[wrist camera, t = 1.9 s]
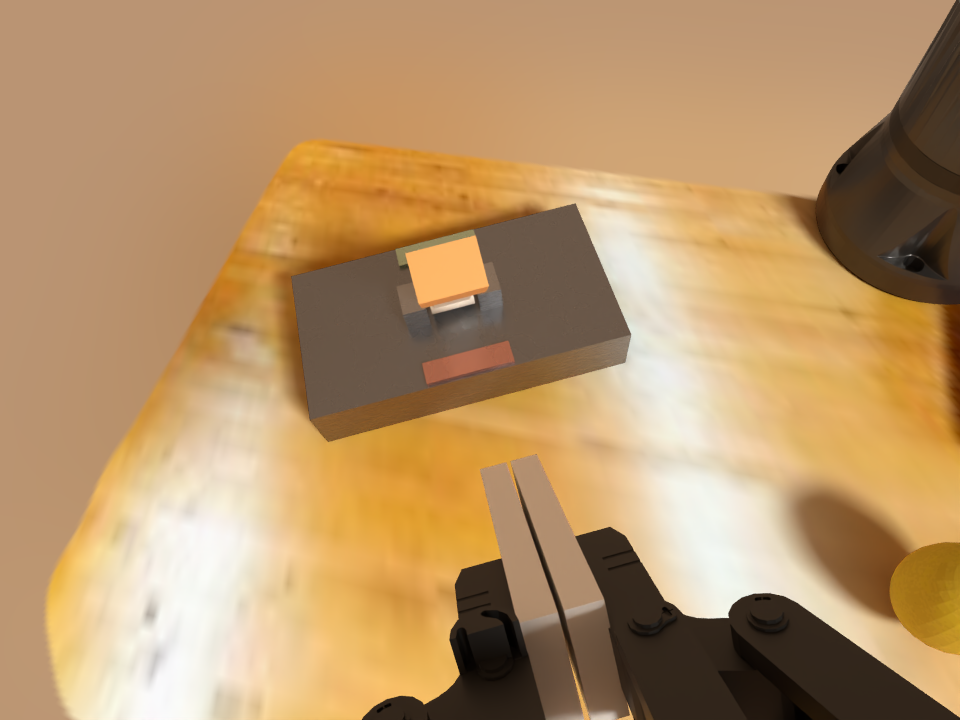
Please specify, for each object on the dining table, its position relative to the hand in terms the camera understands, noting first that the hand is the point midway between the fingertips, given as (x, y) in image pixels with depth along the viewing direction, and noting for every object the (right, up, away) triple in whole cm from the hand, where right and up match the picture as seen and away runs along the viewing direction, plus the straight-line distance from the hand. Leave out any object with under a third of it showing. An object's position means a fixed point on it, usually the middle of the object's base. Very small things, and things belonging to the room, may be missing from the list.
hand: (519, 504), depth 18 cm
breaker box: (-3, +6, +31) cm, 32 cm away
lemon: (+24, -10, +20) cm, 33 cm away
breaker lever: (-3, +9, +28) cm, 29 cm away
